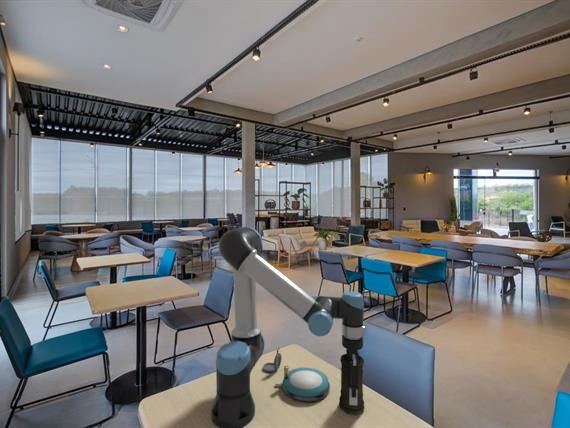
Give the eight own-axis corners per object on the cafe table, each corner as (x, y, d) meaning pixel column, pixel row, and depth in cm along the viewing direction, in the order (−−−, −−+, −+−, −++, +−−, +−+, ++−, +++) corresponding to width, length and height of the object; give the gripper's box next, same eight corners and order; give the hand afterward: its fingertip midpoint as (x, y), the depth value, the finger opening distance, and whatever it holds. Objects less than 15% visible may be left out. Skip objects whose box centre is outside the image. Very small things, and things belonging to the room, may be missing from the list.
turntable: (328, 372, 132) (328, 359, 131) (328, 399, 114) (328, 383, 114) (287, 369, 134) (287, 355, 134) (280, 394, 117) (280, 379, 116)
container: (364, 416, 107) (365, 366, 107) (338, 413, 109) (339, 363, 108) (363, 400, 116) (364, 353, 116) (339, 397, 118) (340, 351, 117)
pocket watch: (262, 365, 141) (262, 344, 141) (280, 363, 142) (280, 342, 142) (264, 375, 133) (264, 352, 132) (283, 373, 134) (283, 351, 134)
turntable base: (272, 400, 116) (272, 396, 116) (278, 372, 135) (278, 369, 135) (330, 404, 114) (330, 400, 114) (328, 375, 133) (328, 372, 133)
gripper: (368, 349, 101) (367, 417, 102) (358, 324, 122) (358, 380, 123) (344, 348, 102) (344, 415, 103) (339, 323, 122) (339, 379, 123)
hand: (351, 396), depth 113 cm, fingers closed on container, 8 cm apart
